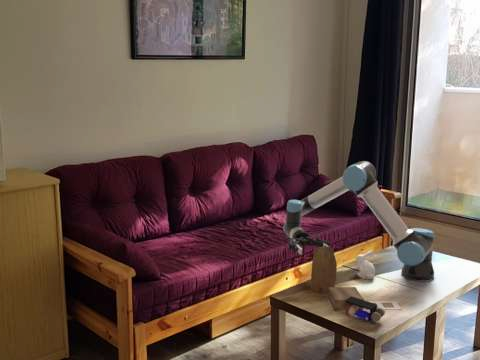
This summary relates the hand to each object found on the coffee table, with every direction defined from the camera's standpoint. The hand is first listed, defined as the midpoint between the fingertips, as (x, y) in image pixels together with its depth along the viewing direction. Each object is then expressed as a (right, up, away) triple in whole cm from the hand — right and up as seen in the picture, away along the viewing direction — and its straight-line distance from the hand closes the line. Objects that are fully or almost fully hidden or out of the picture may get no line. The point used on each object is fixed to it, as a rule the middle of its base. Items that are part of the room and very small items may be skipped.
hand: (315, 251), depth 268 cm
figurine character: (+15, -23, -34) cm, 44 cm away
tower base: (+10, -20, -20) cm, 30 cm away
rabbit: (+25, -13, +12) cm, 31 cm away
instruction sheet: (+25, -20, -21) cm, 39 cm away
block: (+3, -17, -6) cm, 18 cm away
